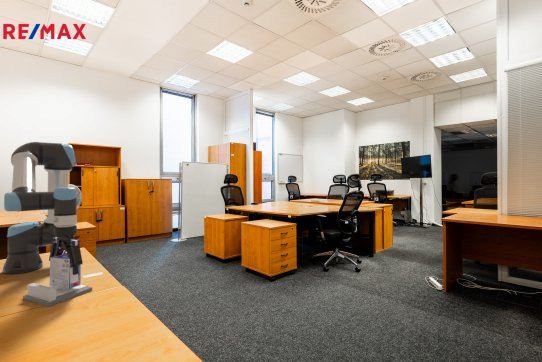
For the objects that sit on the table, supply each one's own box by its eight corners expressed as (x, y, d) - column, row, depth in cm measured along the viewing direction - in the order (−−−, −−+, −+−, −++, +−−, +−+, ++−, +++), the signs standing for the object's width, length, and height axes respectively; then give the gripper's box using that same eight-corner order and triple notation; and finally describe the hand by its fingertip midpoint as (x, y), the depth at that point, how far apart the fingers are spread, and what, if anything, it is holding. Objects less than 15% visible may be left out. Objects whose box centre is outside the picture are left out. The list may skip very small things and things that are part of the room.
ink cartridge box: (81, 284, 114) (81, 249, 114) (69, 289, 109) (69, 252, 109) (61, 282, 116) (61, 248, 116) (48, 287, 111) (48, 251, 111)
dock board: (22, 298, 106) (22, 285, 106) (67, 284, 121) (67, 272, 121) (48, 306, 100) (48, 292, 100) (92, 290, 114) (92, 277, 114)
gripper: (38, 225, 113) (38, 279, 113) (73, 229, 104) (73, 288, 104) (58, 222, 120) (58, 273, 120) (93, 226, 111) (93, 281, 111)
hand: (65, 280), depth 112 cm, fingers closed on ink cartridge box, 10 cm apart
